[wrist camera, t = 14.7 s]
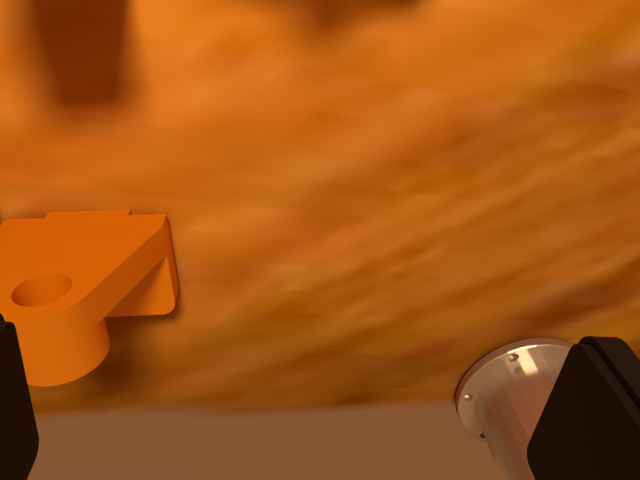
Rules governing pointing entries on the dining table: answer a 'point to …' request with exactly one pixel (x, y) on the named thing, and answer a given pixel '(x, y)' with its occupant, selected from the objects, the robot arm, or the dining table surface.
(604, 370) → the robot arm
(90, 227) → the bracket
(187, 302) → the dining table surface
